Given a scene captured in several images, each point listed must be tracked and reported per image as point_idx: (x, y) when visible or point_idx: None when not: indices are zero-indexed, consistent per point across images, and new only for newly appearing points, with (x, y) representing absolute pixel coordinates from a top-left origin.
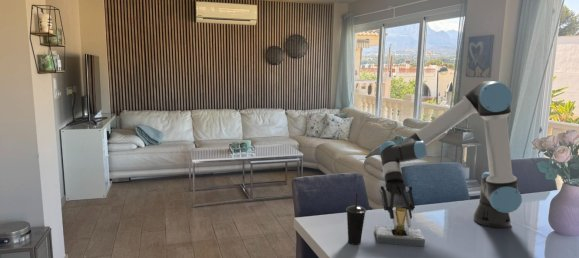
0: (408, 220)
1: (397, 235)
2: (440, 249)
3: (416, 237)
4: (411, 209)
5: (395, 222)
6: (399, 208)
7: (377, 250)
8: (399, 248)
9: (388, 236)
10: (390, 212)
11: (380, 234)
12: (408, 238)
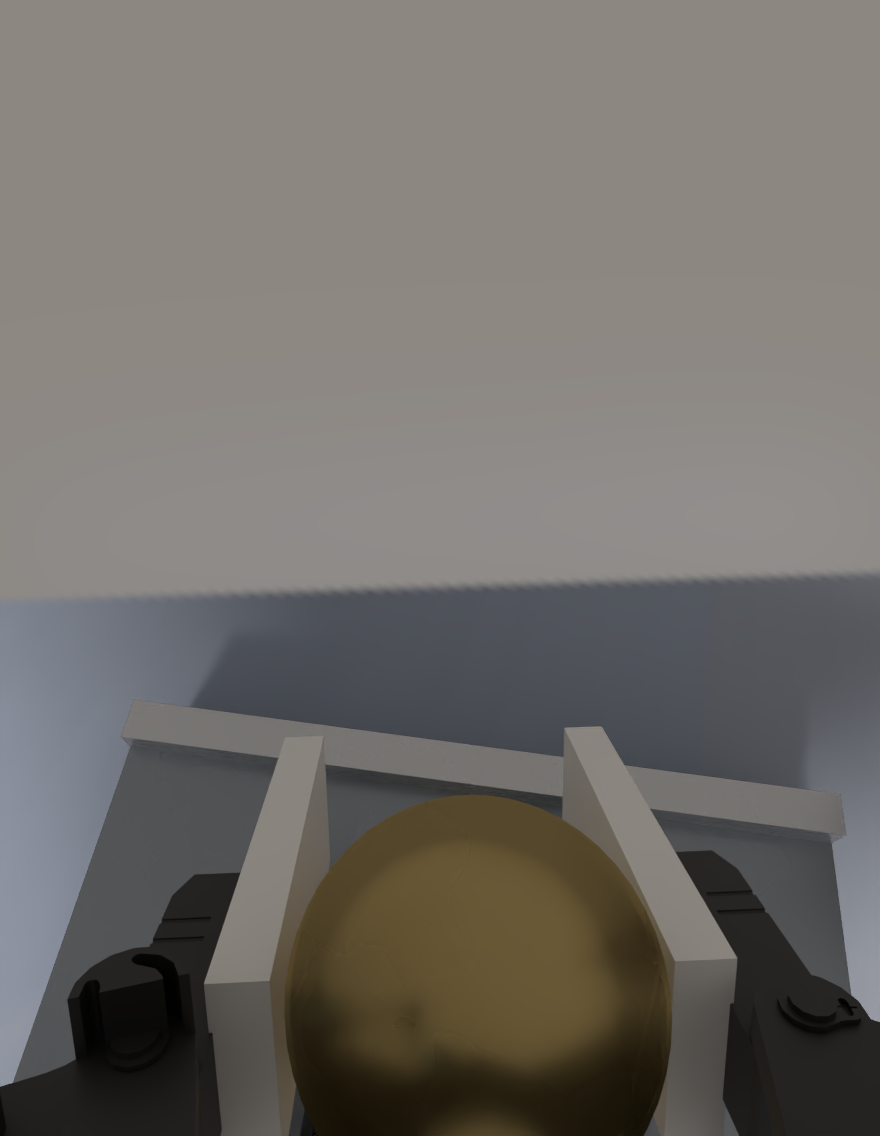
0: (313, 803)
1: None
2: (3, 673)
3: (249, 731)
4: (62, 1069)
5: (613, 751)
6: (550, 871)
7: (781, 620)
8: (513, 679)
9: (670, 775)
10: (783, 945)
11: (799, 821)
12: (372, 737)
